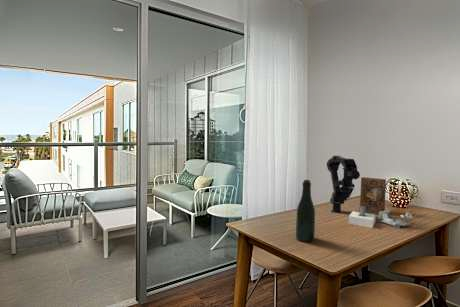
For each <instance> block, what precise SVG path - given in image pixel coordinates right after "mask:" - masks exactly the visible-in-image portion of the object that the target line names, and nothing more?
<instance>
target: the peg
mask: <svg viewBox="0 0 460 307" xmlns="http://www.w3.org/2000/svg"><path fill="white" fill-rule="evenodd" d="M365 209H366V207H365V206H360V205H359V212H360V216H363V217H365V213H366V212H365Z"/></svg>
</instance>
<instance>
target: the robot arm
mask: <svg viewBox="0 0 460 307" xmlns="http://www.w3.org/2000/svg"><path fill="white" fill-rule="evenodd" d="M327 160H328V161H327V162H326V167H327V170H328V171H329V173H330V177H331V182H332V189H333V192H332V193H331V196H330V197H331V198H330V199H329V203H330V204H331V205H332V210H331V212H332V213H337V214H338V213H339V214H341V213H342V212H343V210H342V209H341V208H342V205H344V204H345V201H347V200H348V199H349V198H350V197H351V195H352V193H353V191H354V189H355V184H354V183H353V180H358V179H359V178H361V176H360V175H361V174H360V172H359V170H358V166H357V163H356V160H355V159H354V158H346V157H343V156H341V155H333V156H332V157H331V158H329V159H327ZM340 165H341V166H342V170H343V177H342V178H341V179H339V174H338V171H339V168H340Z"/></svg>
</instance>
